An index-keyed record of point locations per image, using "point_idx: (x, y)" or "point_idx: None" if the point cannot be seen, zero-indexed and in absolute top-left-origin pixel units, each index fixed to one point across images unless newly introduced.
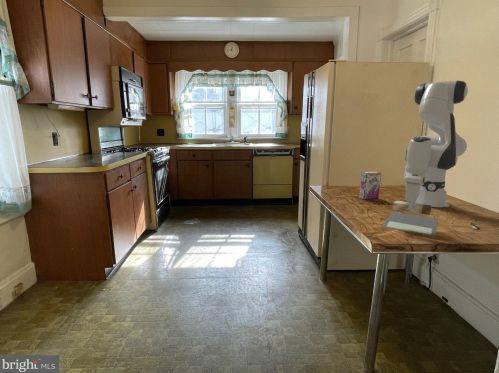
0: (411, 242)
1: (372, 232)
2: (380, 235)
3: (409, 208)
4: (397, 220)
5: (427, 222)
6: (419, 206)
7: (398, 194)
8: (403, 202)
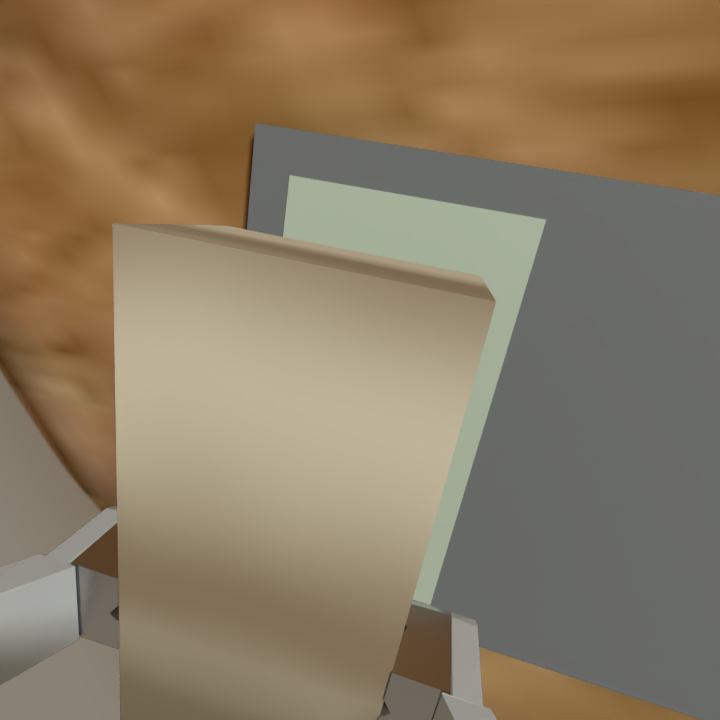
0: (40, 374)
1: (68, 36)
2: (37, 129)
3: (100, 529)
4: (623, 326)
5: (652, 630)
6: (122, 718)
7: None
8: (303, 512)
